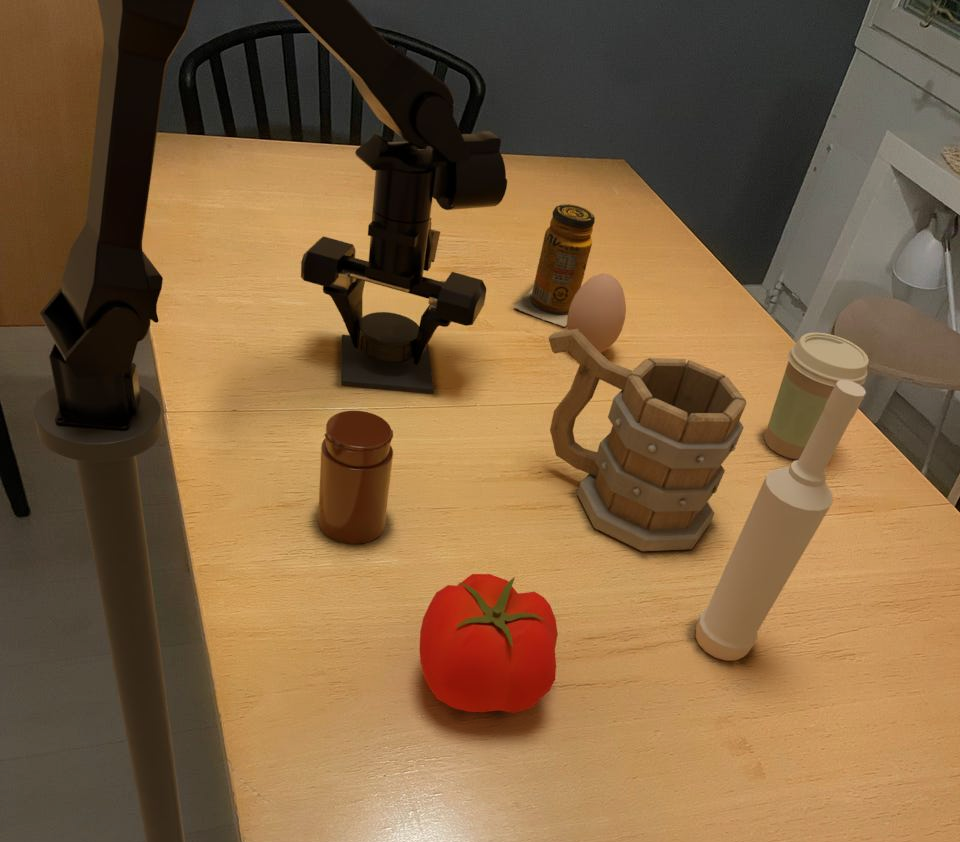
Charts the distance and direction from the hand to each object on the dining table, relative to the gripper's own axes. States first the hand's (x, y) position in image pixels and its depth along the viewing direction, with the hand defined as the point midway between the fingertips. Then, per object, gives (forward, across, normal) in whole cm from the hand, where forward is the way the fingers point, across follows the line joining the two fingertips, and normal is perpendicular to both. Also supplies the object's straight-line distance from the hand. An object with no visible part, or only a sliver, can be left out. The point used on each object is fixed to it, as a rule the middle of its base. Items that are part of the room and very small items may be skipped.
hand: (387, 354), depth 101 cm
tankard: (+2, -28, +12) cm, 30 cm away
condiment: (+2, -14, -25) cm, 29 cm away
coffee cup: (+2, -46, -7) cm, 47 cm away
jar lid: (-3, 0, 0) cm, 3 cm away
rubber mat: (+1, 0, 0) cm, 1 cm away
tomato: (+2, -22, +42) cm, 47 cm away
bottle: (+2, -40, +29) cm, 50 cm away
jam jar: (+1, -6, +28) cm, 28 cm away
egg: (+2, -21, -16) cm, 26 cm away
